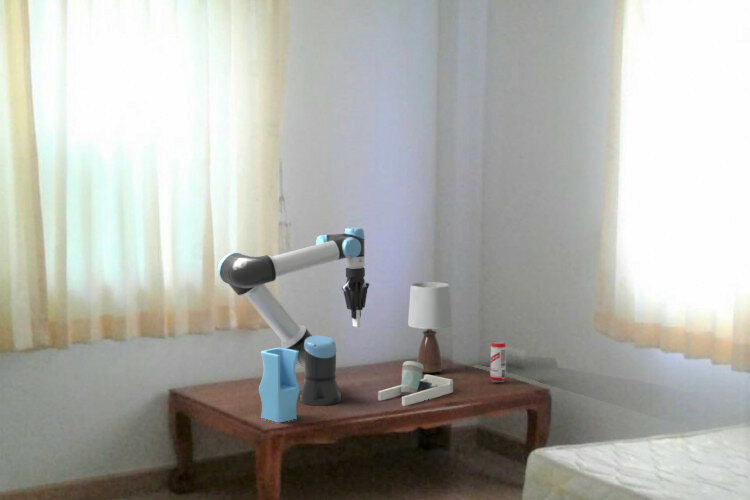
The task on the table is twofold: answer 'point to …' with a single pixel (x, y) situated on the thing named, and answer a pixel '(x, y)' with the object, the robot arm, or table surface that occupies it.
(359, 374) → the table surface
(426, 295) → the lamp
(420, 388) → the block
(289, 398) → the vase
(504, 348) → the beer can
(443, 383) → the lane
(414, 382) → the coffee cup
